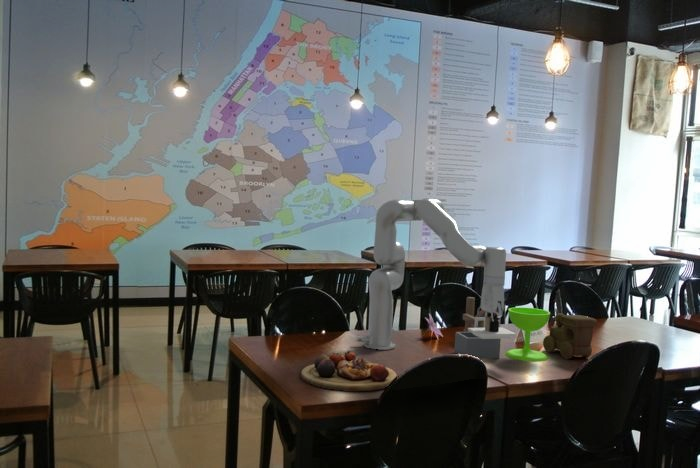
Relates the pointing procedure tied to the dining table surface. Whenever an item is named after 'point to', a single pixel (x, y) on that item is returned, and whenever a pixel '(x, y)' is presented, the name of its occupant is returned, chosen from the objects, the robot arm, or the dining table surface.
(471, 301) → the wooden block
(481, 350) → the toolbox
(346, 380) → the wooden plate with food
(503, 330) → the lid
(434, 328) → the lily
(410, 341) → the dining table surface
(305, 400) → the dining table surface
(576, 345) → the wooden toy train
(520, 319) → the wineglass
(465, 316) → the tan bar
